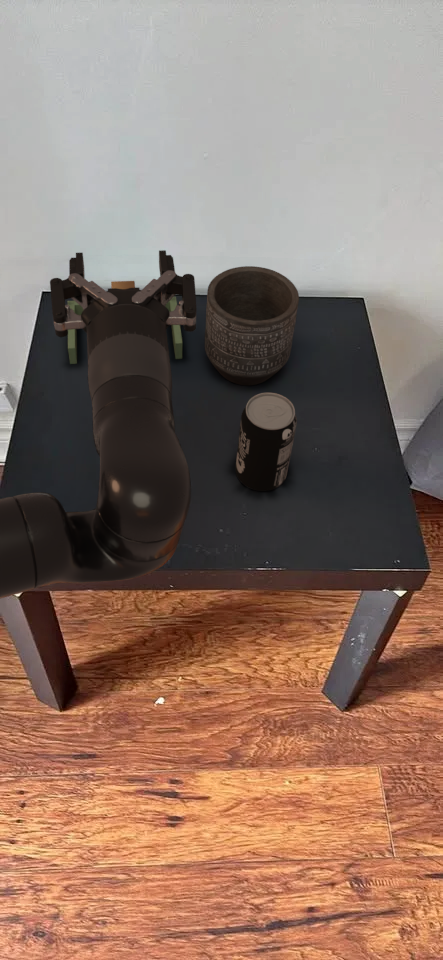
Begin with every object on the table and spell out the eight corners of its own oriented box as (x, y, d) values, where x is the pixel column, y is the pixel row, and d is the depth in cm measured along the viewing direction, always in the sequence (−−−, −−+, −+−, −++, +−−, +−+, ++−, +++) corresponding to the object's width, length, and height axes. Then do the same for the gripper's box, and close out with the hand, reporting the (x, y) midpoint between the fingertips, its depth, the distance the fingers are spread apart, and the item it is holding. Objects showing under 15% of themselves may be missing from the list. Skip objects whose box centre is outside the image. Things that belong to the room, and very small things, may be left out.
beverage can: (228, 460, 97) (234, 395, 88) (275, 450, 99) (286, 385, 89) (244, 499, 93) (253, 436, 84) (293, 488, 95) (307, 425, 85)
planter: (303, 379, 107) (317, 308, 97) (229, 406, 103) (236, 335, 93) (260, 327, 113) (268, 256, 103) (188, 351, 109) (190, 279, 99)
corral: (70, 364, 106) (67, 348, 104) (69, 316, 113) (67, 300, 110) (182, 358, 108) (182, 343, 106) (175, 312, 115) (175, 296, 112)
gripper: (208, 332, 66) (189, 225, 76) (44, 339, 65) (47, 228, 74) (204, 391, 72) (188, 285, 82) (55, 399, 71) (56, 289, 80)
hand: (121, 258), depth 78 cm, fingers open, 8 cm apart
